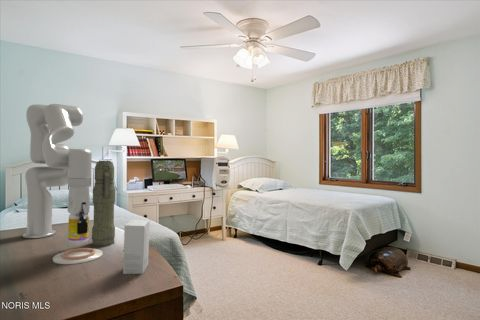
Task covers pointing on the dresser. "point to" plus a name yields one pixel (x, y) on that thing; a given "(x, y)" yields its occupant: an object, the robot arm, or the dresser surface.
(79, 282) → the dresser surface
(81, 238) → the supplement bottle
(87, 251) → the ring stand
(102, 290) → the dresser surface
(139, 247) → the skincare box
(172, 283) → the dresser surface
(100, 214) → the olive tall rounded piece
